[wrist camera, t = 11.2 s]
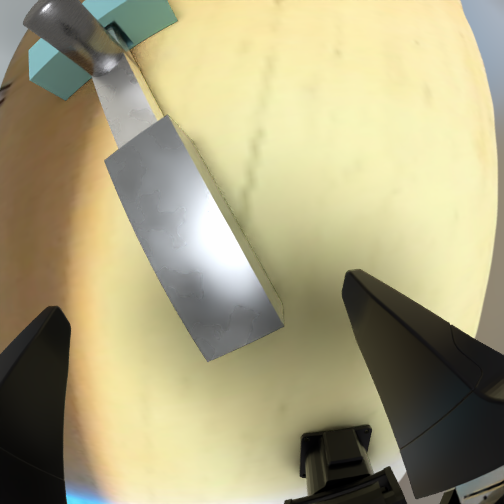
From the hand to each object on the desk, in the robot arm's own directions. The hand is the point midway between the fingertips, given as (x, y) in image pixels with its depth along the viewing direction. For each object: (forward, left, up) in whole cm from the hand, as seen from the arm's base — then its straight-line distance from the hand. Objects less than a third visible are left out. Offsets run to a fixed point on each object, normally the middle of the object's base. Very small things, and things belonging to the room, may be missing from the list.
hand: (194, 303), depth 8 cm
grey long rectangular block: (+3, +3, -12) cm, 13 cm away
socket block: (+23, +13, -12) cm, 29 cm away
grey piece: (+14, +8, -11) cm, 19 cm away
